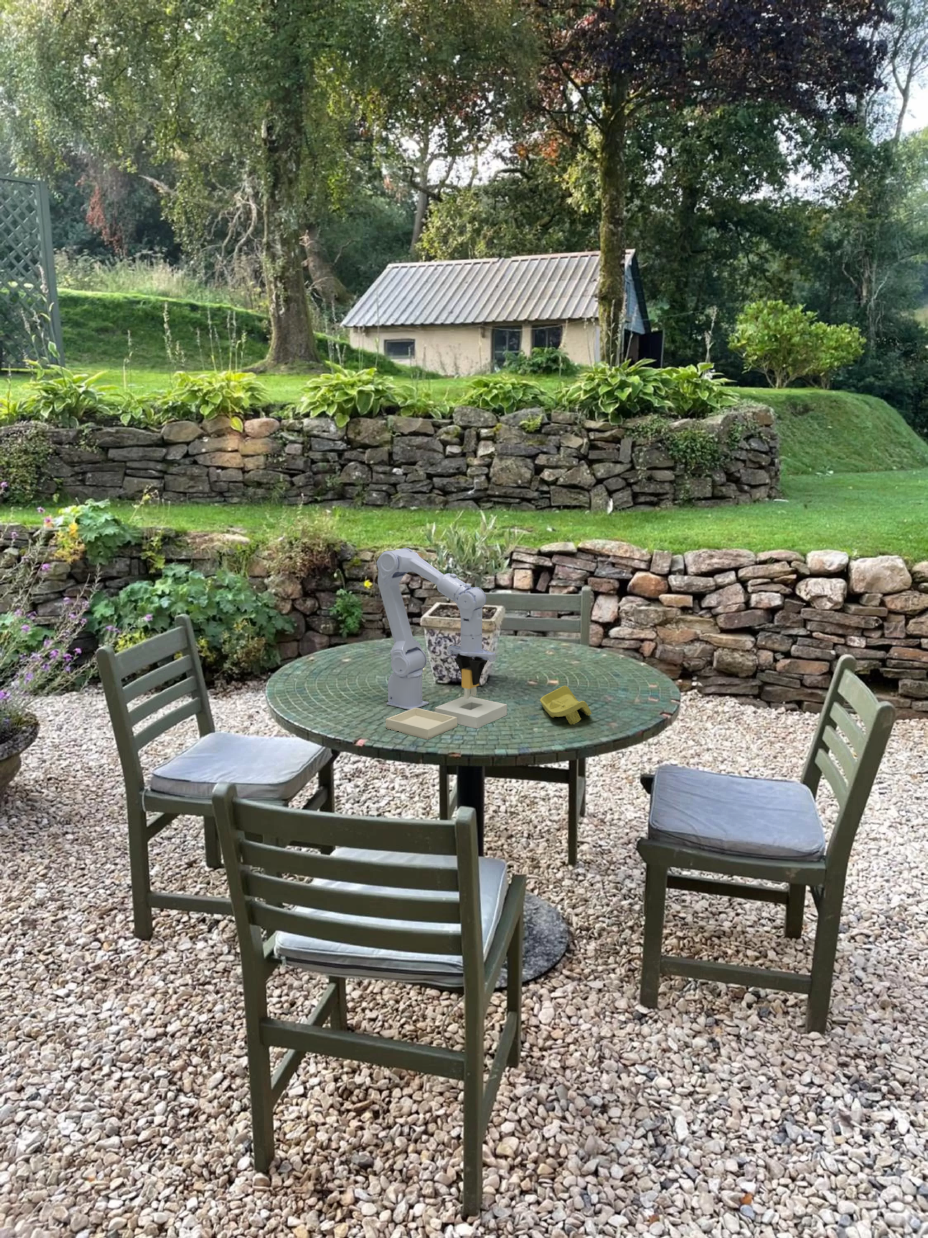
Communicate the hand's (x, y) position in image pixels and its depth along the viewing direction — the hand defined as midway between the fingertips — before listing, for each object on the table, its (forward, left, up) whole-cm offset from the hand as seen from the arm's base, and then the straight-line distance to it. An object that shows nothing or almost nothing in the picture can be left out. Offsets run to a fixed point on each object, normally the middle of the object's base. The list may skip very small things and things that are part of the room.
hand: (471, 683), depth 221 cm
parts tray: (-5, -15, -9) cm, 18 cm away
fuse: (0, 0, -4) cm, 4 cm away
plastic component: (+20, +16, -10) cm, 28 cm away
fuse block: (0, 0, -9) cm, 9 cm away
